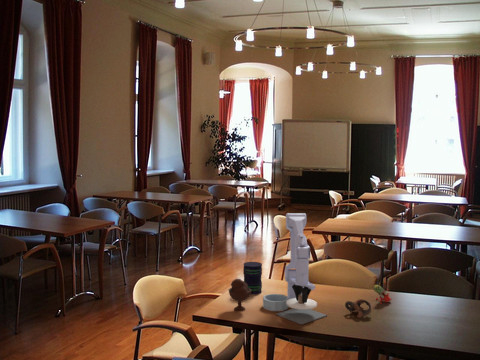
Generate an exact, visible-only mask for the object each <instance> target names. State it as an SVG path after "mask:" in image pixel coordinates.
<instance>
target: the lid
mask: <svg viewBox="0 0 480 360" xmlns="http://www.w3.org/2000/svg"><path fill="white" fill-rule="evenodd" d="M286 305H287V306H288V307H289V308H291V309H293V308H294V309H302V310H306V309H311V310H313V309H315V308H317V306H318V302H317V301H315V300H313V299H311V298H308V299H307V302H306V303H303V302H302V294H299V295H298V301H297V300H296V298H293V299H289V300H287V302H286Z"/></svg>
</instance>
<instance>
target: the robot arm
mask: <svg viewBox="0 0 480 360" xmlns="http://www.w3.org/2000/svg"><path fill="white" fill-rule="evenodd" d="M306 225H307V214H306V213H305V212H301V213H297V212H296V213H294V212H293V213H291V212H290V213H289V212H287V213H286V214H285V227H286V230H288V231H289V234H290V235H289V237H290V240H289V241H290V242H289V243H290V245H289V246H290V247H289V248H290V262H289V263H288V264H287V265H285V266H284V267H285V268H284V281H285V282H286V283H287V291H286V292H287V293H286V294H287V295H286V296H287V297H288V298H289V299H293V298H296V300H297V301H298V295H299V294H302V302H303V303H306V302H307V299H309V295H310V293H311V291H314V290H316V285H315V284H313V283H311V282H310V281H309V270H310V269H309V268H310V267H309V263H310V259H311V247H310V246H309V244H308V242H307V241H308V240H307V239H308V238H307V237H306V235H305V234H304V229H305V227H306Z"/></svg>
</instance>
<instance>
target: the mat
mask: <svg viewBox="0 0 480 360" xmlns="http://www.w3.org/2000/svg"><path fill="white" fill-rule="evenodd" d="M275 315H276V316H278V317H281V318H283V319H286V320H289V321H291V322H293V323H296V324H299V325H301V326H302V325H304V324H307V323H310V322H313V321H317V320H320V319H322V318H323V319H324V318H325V317H327V316H328V315H327V314H326V313H321V312H319V311H316V310H313V309H306V310H302V309H294V308H291V309H287V310H283V311H279V312H276V313H275Z"/></svg>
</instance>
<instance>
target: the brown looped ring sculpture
mask: <svg viewBox="0 0 480 360" xmlns="http://www.w3.org/2000/svg"><path fill="white" fill-rule="evenodd" d="M362 304H366V306H368V308H367V309H364V308H363V306H361V305H362ZM344 306H345V308H346V309H347V310H348V311H349V313H350V314H351V313H354V312H357V313H358V314H357V315H356V316H357V318H359V319H361V318H362V317H366V316H369V315H370V314H371V312H372V305H371V303H370V302H369V301H368V300H366V299H363V298H361V299H359V298H358V299H357V300H355V301H350V300H348V301H346V302H345V303H344Z"/></svg>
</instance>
